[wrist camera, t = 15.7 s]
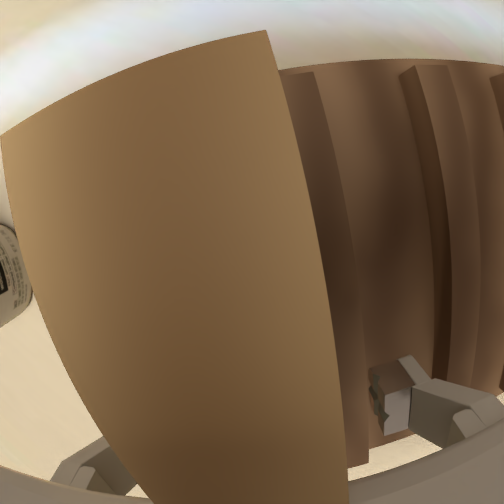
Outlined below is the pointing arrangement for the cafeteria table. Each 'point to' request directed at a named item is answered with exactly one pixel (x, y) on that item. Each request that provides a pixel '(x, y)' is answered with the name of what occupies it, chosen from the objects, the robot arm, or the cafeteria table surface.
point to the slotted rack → (406, 220)
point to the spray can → (12, 277)
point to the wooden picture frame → (186, 275)
